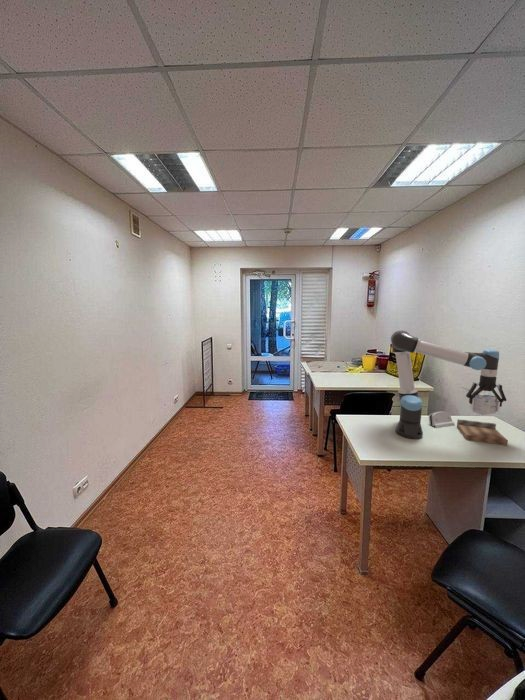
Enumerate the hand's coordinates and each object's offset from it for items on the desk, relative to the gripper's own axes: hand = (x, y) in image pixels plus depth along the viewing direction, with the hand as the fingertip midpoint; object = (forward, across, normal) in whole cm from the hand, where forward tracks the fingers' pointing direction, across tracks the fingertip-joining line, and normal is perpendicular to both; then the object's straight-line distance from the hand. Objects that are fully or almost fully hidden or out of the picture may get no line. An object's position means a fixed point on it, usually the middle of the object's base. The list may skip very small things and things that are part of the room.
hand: (484, 410), depth 165 cm
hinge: (+17, -19, +12) cm, 28 cm away
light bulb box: (+2, 0, 0) cm, 2 cm away
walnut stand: (+17, 0, +1) cm, 17 cm away
